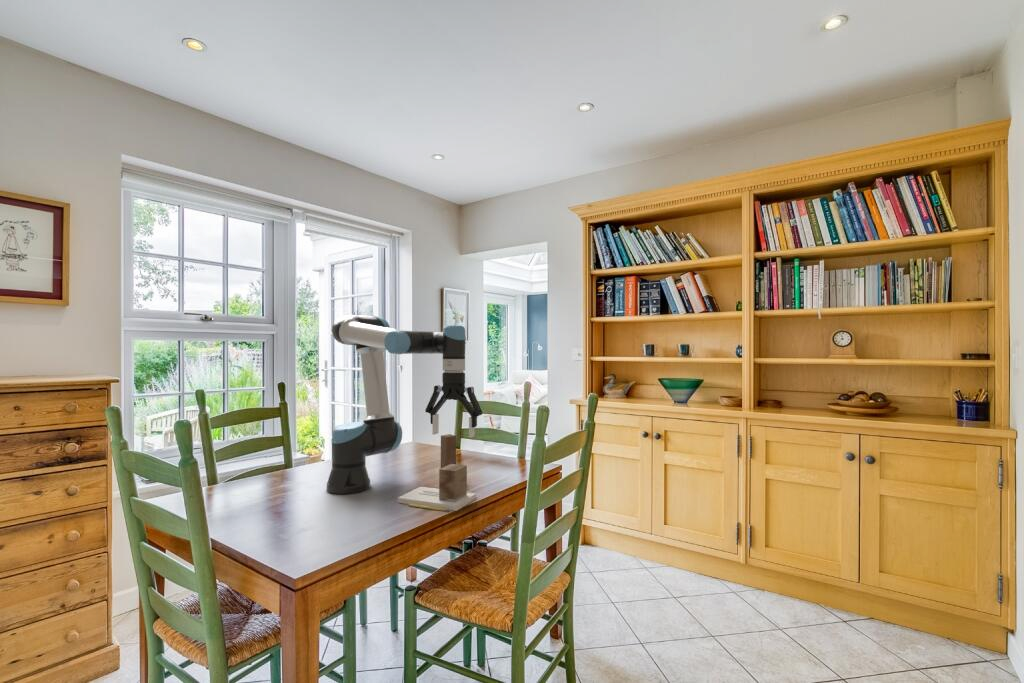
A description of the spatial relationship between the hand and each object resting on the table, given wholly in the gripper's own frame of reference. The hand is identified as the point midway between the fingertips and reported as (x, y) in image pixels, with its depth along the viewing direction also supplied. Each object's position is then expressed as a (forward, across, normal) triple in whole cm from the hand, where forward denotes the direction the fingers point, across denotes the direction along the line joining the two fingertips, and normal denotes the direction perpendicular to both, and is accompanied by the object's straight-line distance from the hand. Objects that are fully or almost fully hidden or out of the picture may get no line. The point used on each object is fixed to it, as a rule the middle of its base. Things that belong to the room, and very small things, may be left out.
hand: (453, 435), depth 163 cm
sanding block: (+21, 0, 0) cm, 21 cm away
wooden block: (+22, -11, +19) cm, 31 cm away
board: (+22, -6, 0) cm, 23 cm away
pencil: (+22, -5, -9) cm, 24 cm away
